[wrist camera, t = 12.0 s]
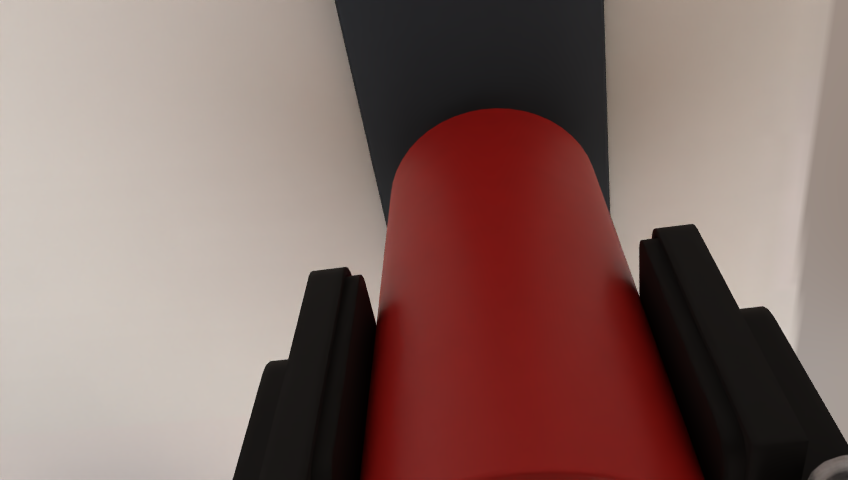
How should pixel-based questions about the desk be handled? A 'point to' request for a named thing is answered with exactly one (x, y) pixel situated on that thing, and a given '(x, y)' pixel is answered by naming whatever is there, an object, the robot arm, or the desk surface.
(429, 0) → the mat
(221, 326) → the desk surface
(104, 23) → the desk surface
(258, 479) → the robot arm
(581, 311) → the sauce bottle
